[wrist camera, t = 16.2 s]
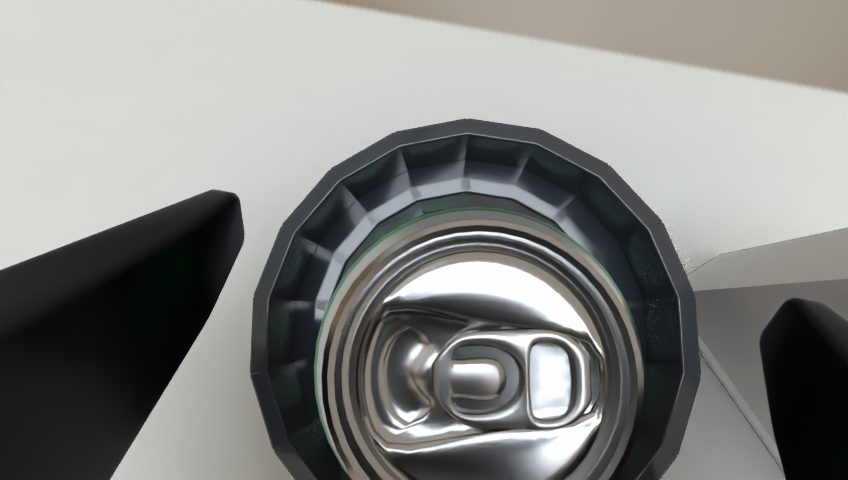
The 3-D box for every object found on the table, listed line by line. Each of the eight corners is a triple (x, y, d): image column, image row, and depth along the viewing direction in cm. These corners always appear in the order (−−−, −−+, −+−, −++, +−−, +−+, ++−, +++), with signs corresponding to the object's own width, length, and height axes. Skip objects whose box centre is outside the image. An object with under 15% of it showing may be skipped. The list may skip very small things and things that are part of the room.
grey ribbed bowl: (448, 572, 18) (446, 684, 13) (242, 306, 20) (163, 305, 14) (700, 350, 19) (801, 367, 13) (479, 109, 20) (489, 36, 15)
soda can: (393, 265, 19) (298, 192, 7) (531, 264, 19) (664, 189, 7) (391, 406, 19) (284, 577, 7) (534, 408, 18) (688, 589, 6)
